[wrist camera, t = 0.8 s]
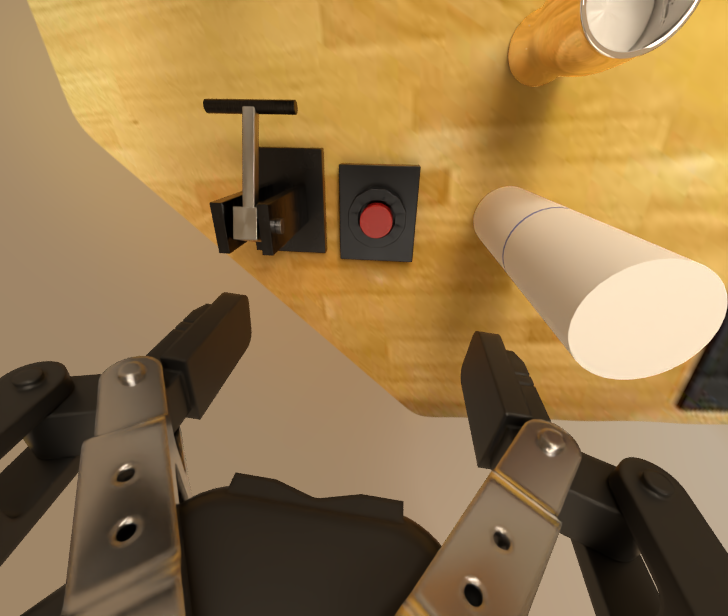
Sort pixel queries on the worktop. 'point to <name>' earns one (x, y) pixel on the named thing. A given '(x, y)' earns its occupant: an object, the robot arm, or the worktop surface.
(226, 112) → the lever
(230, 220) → the lever bracket
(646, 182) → the worktop surface
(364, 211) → the button
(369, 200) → the block
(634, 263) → the cylindrical container
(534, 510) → the robot arm
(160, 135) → the worktop surface
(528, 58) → the beer glass
